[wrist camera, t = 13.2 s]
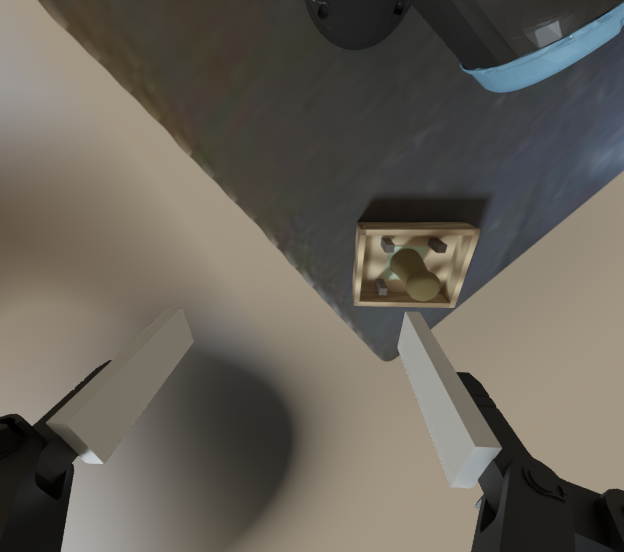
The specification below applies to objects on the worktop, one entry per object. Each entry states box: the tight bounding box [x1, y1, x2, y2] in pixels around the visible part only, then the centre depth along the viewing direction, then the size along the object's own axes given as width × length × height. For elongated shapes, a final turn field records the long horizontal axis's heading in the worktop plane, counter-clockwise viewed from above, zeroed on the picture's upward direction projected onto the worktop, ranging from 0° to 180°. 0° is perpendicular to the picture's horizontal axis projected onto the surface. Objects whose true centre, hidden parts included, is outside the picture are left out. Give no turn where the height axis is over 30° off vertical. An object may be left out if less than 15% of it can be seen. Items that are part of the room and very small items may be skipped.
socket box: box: [352, 222, 481, 308], centre depth 44 cm, size 16×20×5 cm
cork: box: [390, 248, 441, 301], centre depth 40 cm, size 6×6×11 cm
